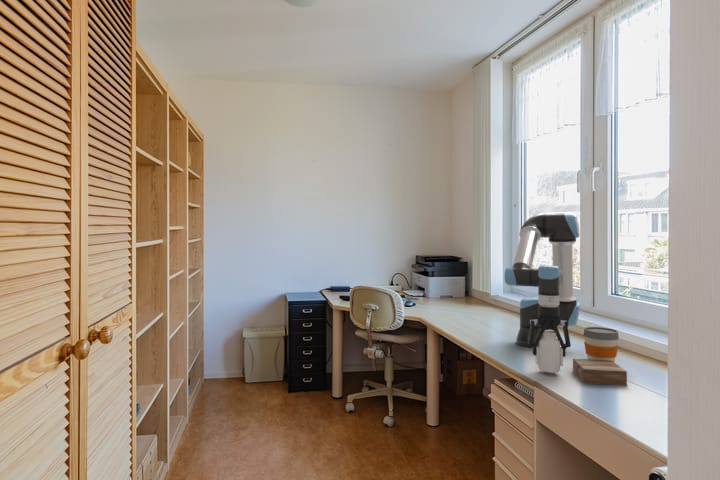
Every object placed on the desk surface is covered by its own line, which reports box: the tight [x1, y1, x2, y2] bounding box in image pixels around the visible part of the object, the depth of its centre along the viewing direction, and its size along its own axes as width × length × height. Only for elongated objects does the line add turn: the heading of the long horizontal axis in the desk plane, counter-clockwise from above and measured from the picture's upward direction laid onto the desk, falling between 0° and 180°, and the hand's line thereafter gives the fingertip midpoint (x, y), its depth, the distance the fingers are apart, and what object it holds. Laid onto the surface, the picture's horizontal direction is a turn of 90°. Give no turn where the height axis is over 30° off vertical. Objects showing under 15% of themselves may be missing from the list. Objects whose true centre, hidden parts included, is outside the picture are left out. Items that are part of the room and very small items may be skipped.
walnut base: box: [572, 358, 628, 386], centre depth 160 cm, size 14×14×5 cm
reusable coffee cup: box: [583, 326, 620, 363], centre depth 175 cm, size 13×13×15 cm
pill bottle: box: [537, 330, 561, 374], centre depth 166 cm, size 8×8×15 cm
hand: (548, 364), depth 166 cm, fingers closed on pill bottle, 8 cm apart
